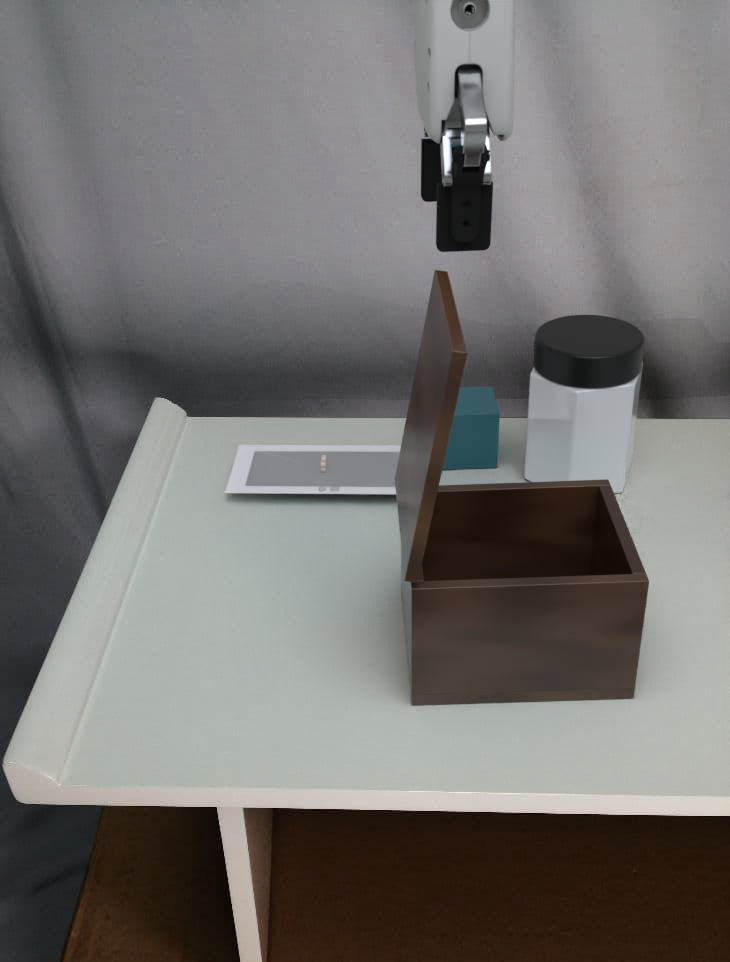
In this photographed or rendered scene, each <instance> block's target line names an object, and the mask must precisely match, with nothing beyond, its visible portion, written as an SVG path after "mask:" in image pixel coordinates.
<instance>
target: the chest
mask: <svg viewBox="0 0 730 962" xmlns="http://www.w3.org/2000/svg"><path fill="white" fill-rule="evenodd" d="M649 579H650V578H649V577H648V575H647V572H646V570H645V567H644V564H643V562H642V560H641V557H640V555H639V553H638V549H637V547H636V545H635V542H634V539H633V537H632V535H631V532H630V530H629V527H628V525H627V522H626V520H625V517H624V515H623V511H622V510H621V507H620V504H619V502H618V499H617V497H616V495H615V493H614V492H613V490H612V487H611V485H610V482H609V480H608V479H604V480H576V481H548V482H531V481H524V482H498V483H497V482H496V483H495V482H494V483H493V482H492V483H467V484H466V483H465V484H442V485H441V484H439V488H438V493H437V497H436V502H435V506H434V511H433V516H432V520H431V525H430V530H429V534H428V539H427V543H426V548H425V553H424V557H423V562H422V566H421V571H420V576H419V580H418V582H417V583H416V582H407V581H405V579H404V569H403V559H402V549H401V548H400V596H401V607H402V618H403V629H404V639H405V651H406V663H407V671H408V682H409V692H410V694H409V695H410V703H411V706H429V705H431V706H432V705H457V704H458V705H461V704H489V703H490V704H491V703H493V704H494V703H519V702H520V703H521V702H522V703H523V702H555V701H556V702H557V701H583V700H584V701H585V700H587V701H588V700H590V701H591V700H618V699H620V700H621V699H622V700H623V699H634V697H635V691H636V684H637V675H638V668H639V661H640V654H641V646H642V639H643V632H644V625H645V624H644V623H645V616H646V609H647V603H648V602H647V601H648V593H649V586H650V580H649Z"/></svg>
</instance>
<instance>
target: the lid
mask: <svg viewBox="0 0 730 962" xmlns="http://www.w3.org/2000/svg"><path fill="white" fill-rule="evenodd" d="M456 304H457V303H456V300H455V296H454V292H453V289H452V283H451V279H450V276H449V271H446V270H438V269H435V270H434V272H433V278H432V282H431V288H430V293H429V298H428V304H427V307H426V308H427V309H426V314H425V319H424V323H423V324H424V325H423V329H422V335H421V340H420V345H419V350H418V356H417V361H416V366H415V371H414V375H413V380H412V381H413V382H412V387H411V392H410V397H409V402H408V407H407V412H406V418H405V424H404V428H403V433H402V439H401V442H400V443H401V444H400V445H401V449H400V454H399V459H398V464H397V469H396V475H395V488H396V494H395V496H396V497H395V498H396V507H397V518H398V527H399V528H398V529H399V538H400V550H401V549H402V559H403V569H404V579H405V581H407V582H416V583H417V582H418V580H419V576H420V571H421V566H422V562H423V557H424V553H425V548H426V543H427V539H428V534H429V530H430V525H431V520H432V516H433V511H434V506H435V502H436V497H437V493H438V488H439V485H440V483H441V479H442V475H443V470H442V469H443V465H444V460H445V456H446V451H447V446H448V442H449V437H450V433H451V428H452V423H453V419H454V414H455V409H456V405H457V400H458V396H459V391H460V387H461V386H462V381H463V377H464V371H465V368H466V363H467V359H468V350H467V346H466V341H465V338H464V333H463V329H462V325H461V319H460V317H459V313H458V308H457V305H456Z"/></svg>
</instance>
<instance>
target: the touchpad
mask: <svg viewBox="0 0 730 962" xmlns="http://www.w3.org/2000/svg"><path fill="white" fill-rule="evenodd" d="M400 449H401V444H400V445H398V444H397V445H395V444H394V445H392V444H391V445H390V444H389V445H388V444H387V445H385V444H383V445H380V444H379V445H378V444H377V445H372V444H371V445H369V444H368V445H365V444H361V445H359V444H357V445H355V444H351V445H350V444H349V445H348V444H347V445H346V444H345V445H342V444H341V445H339V444H328V445H326V444H317V445H316V444H239V445H238V448H237V451H236V454H235V458H234V461H233V464H232V467H231V470H230V474H229V477H228V480H227V483H226V487H225V490H224V494H261V495H262V494H264V495H265V494H266V495H267V494H270V495H271V494H274V495H275V494H276V495H277V494H278V495H282V494H284V495H285V494H286V495H287V494H288V495H292V494H293V495H295V494H296V495H396V488H395V475H396V469H397V464H398V459H399V454H400Z"/></svg>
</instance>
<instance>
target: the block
mask: <svg viewBox="0 0 730 962" xmlns="http://www.w3.org/2000/svg"><path fill="white" fill-rule="evenodd" d="M493 387H494V386H491V385H489V386H488V385H487V386H466V387H465V386H463V387H461V386H460V391H459V396H458V400H457V405H456V409H455V414H454V419H453V423H452V428H451V433H450V437H449V442H448V446H447V451H446V456H445V460H444V465H443V469H442V471H443V470H444V471H445V470H446V471H447V470H473V469H477V470H478V469H498V464H499V463H498V462H499V440H500V439H499V437H500V419H501V413H500V409H499V406H498V401H497V399H496V395H495V392H494V391H495V390H494V388H493Z"/></svg>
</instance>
